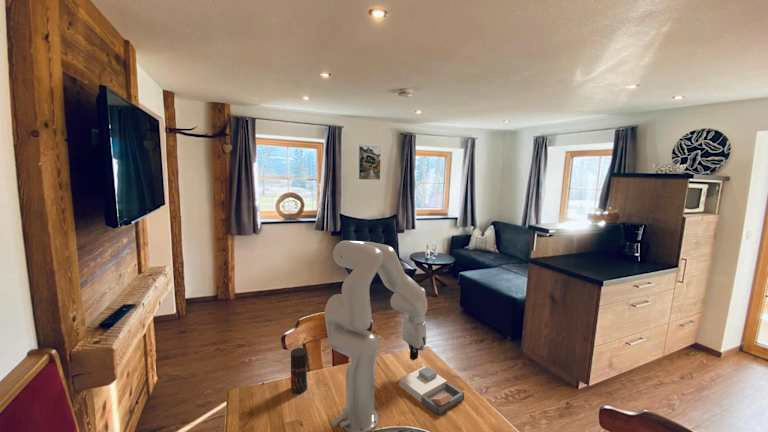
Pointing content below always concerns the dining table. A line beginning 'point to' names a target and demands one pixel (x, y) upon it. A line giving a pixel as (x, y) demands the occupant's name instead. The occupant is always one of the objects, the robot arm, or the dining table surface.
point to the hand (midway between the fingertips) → (413, 358)
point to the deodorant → (298, 370)
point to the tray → (439, 409)
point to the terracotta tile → (441, 399)
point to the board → (421, 385)
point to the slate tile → (427, 373)
